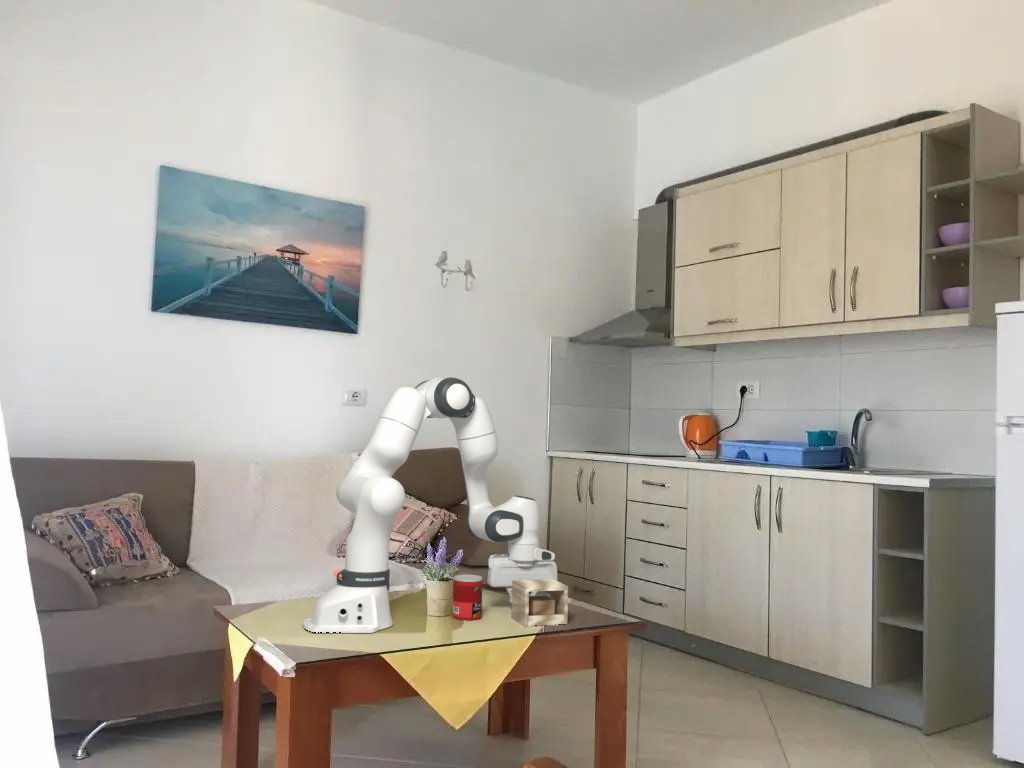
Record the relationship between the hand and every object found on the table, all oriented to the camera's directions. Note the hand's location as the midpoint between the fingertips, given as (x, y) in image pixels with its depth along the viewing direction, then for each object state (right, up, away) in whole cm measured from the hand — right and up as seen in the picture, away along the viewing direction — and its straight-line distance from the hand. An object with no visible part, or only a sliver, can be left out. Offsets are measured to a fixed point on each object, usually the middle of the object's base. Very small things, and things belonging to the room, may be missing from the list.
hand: (521, 602), depth 243 cm
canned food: (-15, -2, -12) cm, 19 cm away
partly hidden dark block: (+2, -2, -7) cm, 8 cm away
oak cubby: (+4, -2, -13) cm, 14 cm away
